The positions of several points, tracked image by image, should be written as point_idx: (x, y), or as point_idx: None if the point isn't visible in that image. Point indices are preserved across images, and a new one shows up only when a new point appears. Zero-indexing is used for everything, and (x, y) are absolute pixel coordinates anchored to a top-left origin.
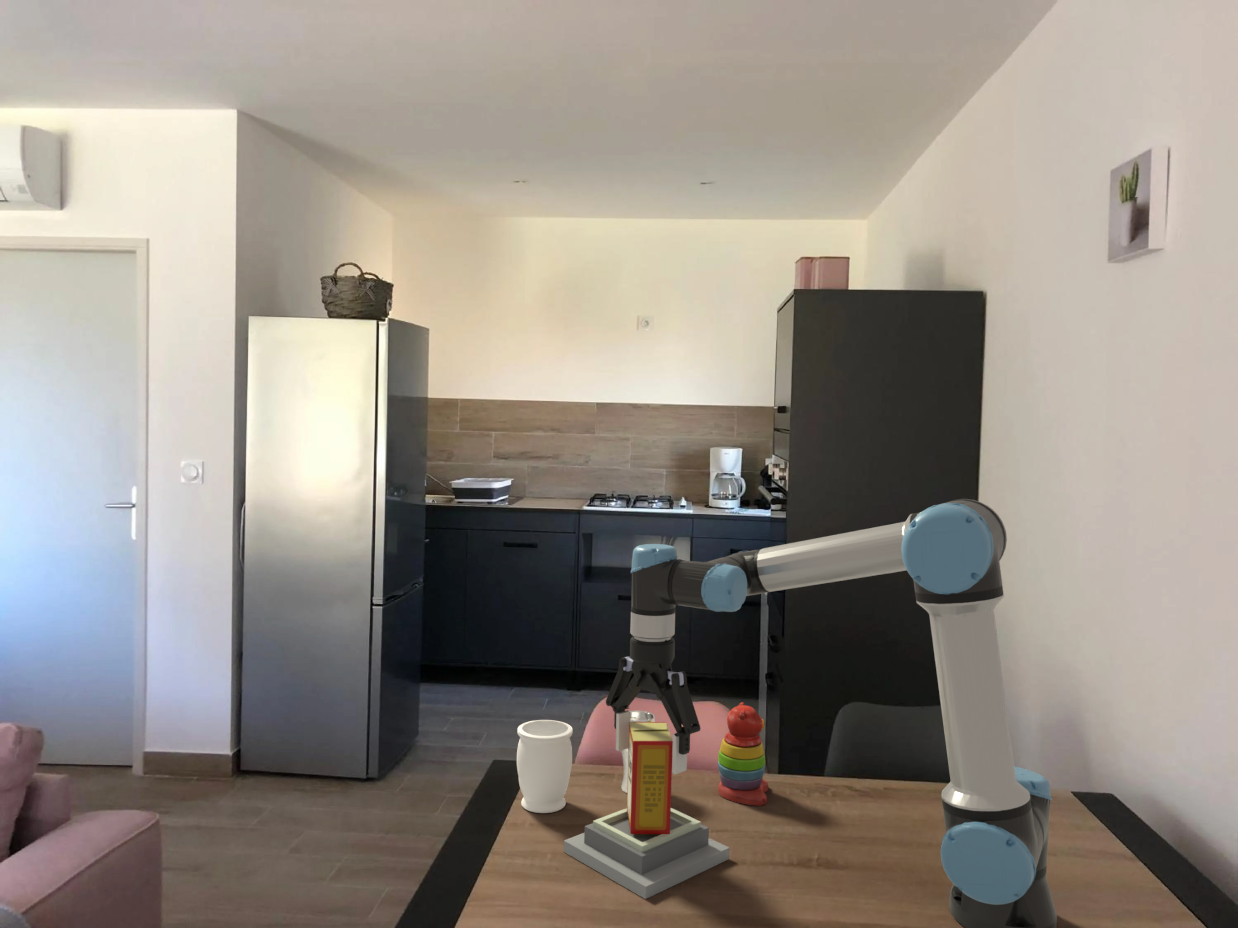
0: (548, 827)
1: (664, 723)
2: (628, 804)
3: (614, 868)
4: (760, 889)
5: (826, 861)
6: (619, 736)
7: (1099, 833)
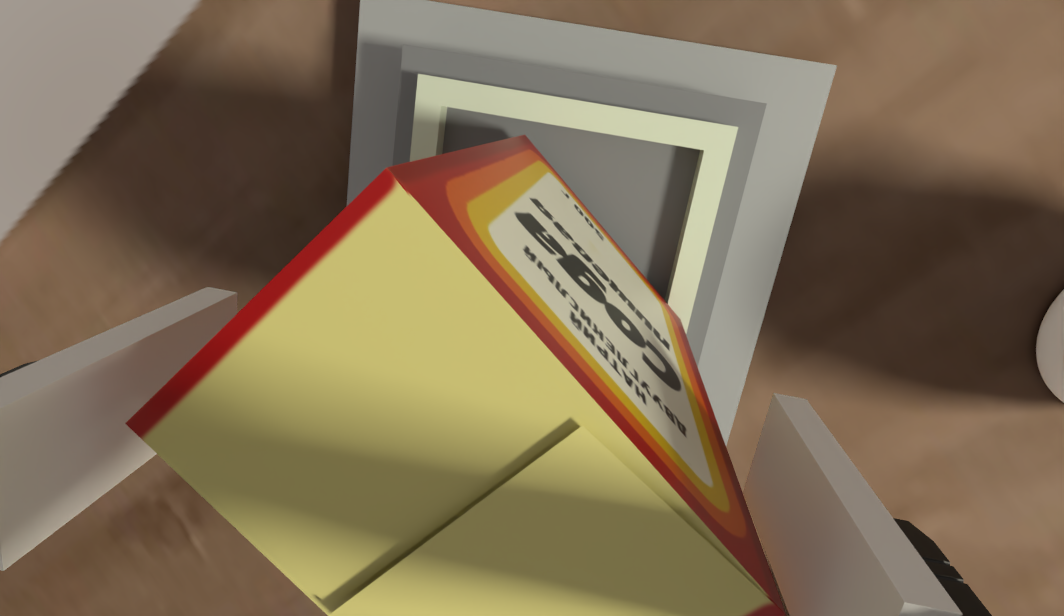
0: (995, 189)
1: None
2: (628, 268)
3: (529, 19)
4: (180, 294)
5: (162, 532)
6: (806, 454)
7: None
